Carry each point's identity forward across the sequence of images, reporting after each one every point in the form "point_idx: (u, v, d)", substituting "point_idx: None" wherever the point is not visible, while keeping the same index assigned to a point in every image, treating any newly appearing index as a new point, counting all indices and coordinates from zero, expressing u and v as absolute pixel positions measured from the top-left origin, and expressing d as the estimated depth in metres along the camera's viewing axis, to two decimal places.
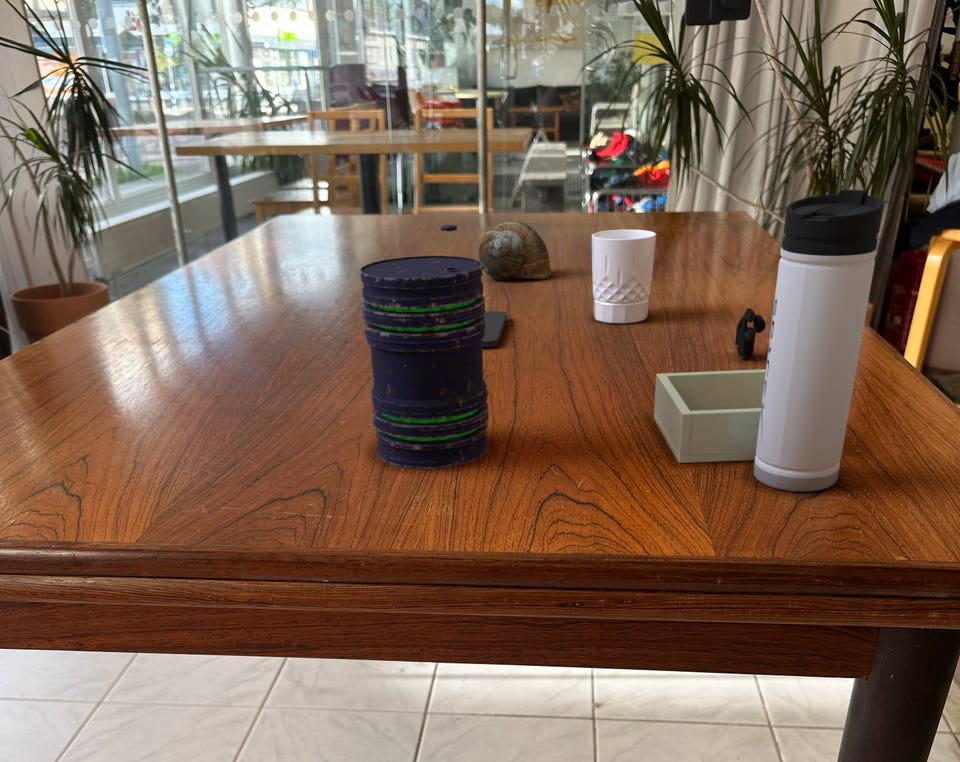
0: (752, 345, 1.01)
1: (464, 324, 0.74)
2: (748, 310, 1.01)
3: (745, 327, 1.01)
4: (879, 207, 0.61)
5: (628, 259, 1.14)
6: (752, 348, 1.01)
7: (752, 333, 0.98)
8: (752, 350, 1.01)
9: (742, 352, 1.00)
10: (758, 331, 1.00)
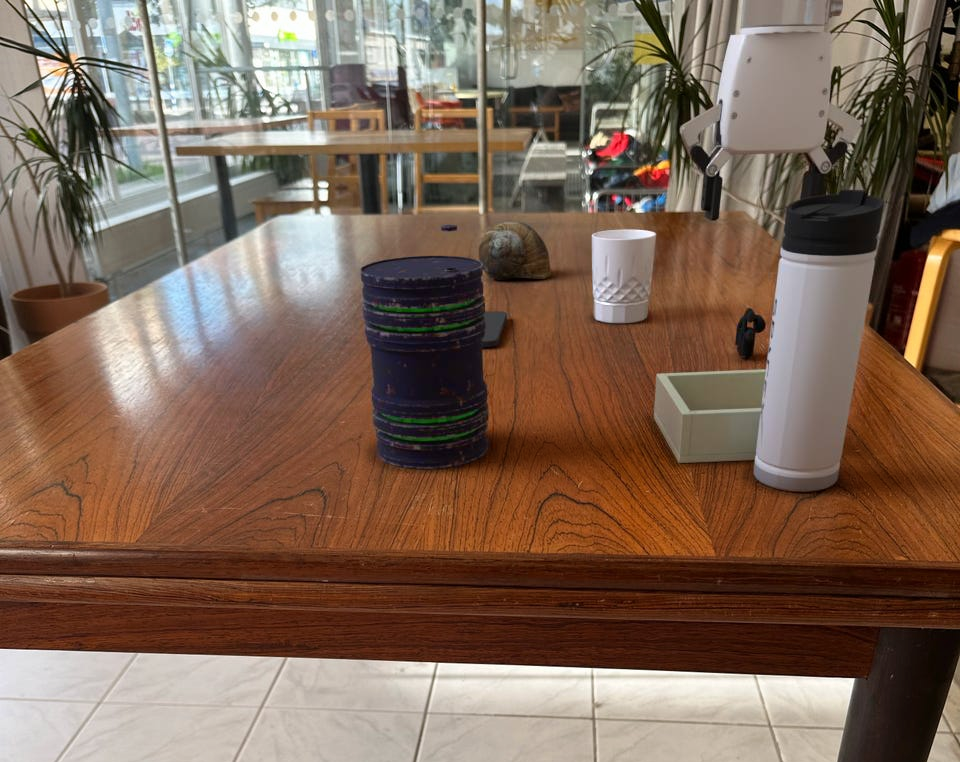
0: (752, 345, 1.01)
1: (464, 324, 0.74)
2: (748, 310, 1.01)
3: (745, 327, 1.01)
4: (879, 207, 0.61)
5: (628, 259, 1.14)
6: (752, 348, 1.01)
7: (752, 333, 0.98)
8: (752, 350, 1.01)
9: (742, 352, 1.00)
10: (758, 331, 1.00)
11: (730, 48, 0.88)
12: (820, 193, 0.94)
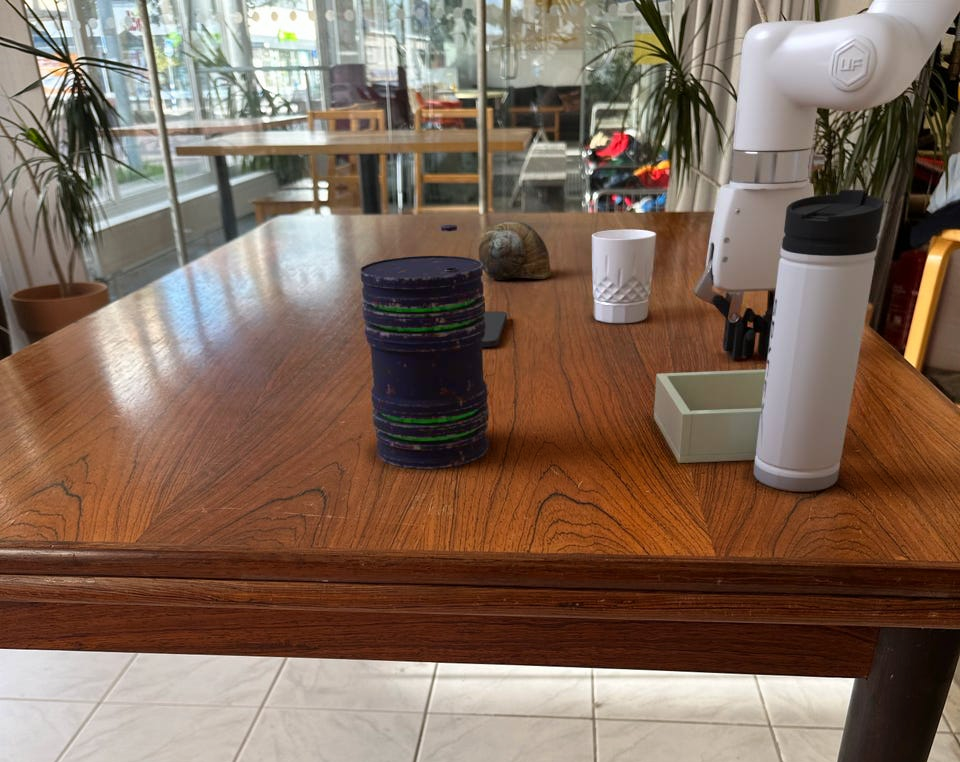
0: (753, 345, 1.01)
1: (464, 324, 0.74)
2: (748, 310, 1.01)
3: (745, 327, 1.01)
4: (879, 207, 0.61)
5: (628, 259, 1.14)
6: (753, 348, 1.01)
7: (753, 333, 0.98)
8: (753, 350, 1.01)
9: (743, 352, 1.00)
10: (758, 331, 1.00)
11: (720, 199, 0.95)
12: None
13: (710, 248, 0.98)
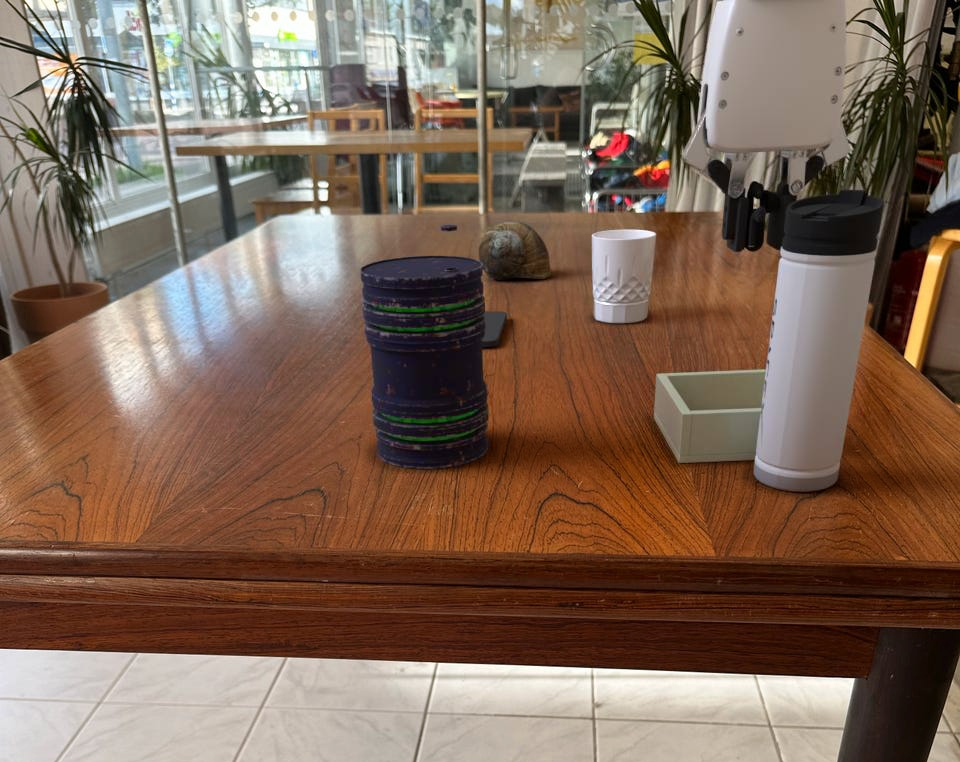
0: (762, 230, 0.75)
1: (464, 324, 0.74)
2: (753, 184, 0.75)
3: (751, 207, 0.75)
4: (879, 207, 0.61)
5: (628, 259, 1.14)
6: (762, 235, 0.75)
7: (763, 211, 0.73)
8: (762, 237, 0.75)
9: (750, 240, 0.74)
10: (769, 210, 0.74)
11: (716, 18, 0.69)
12: None
13: (703, 94, 0.72)
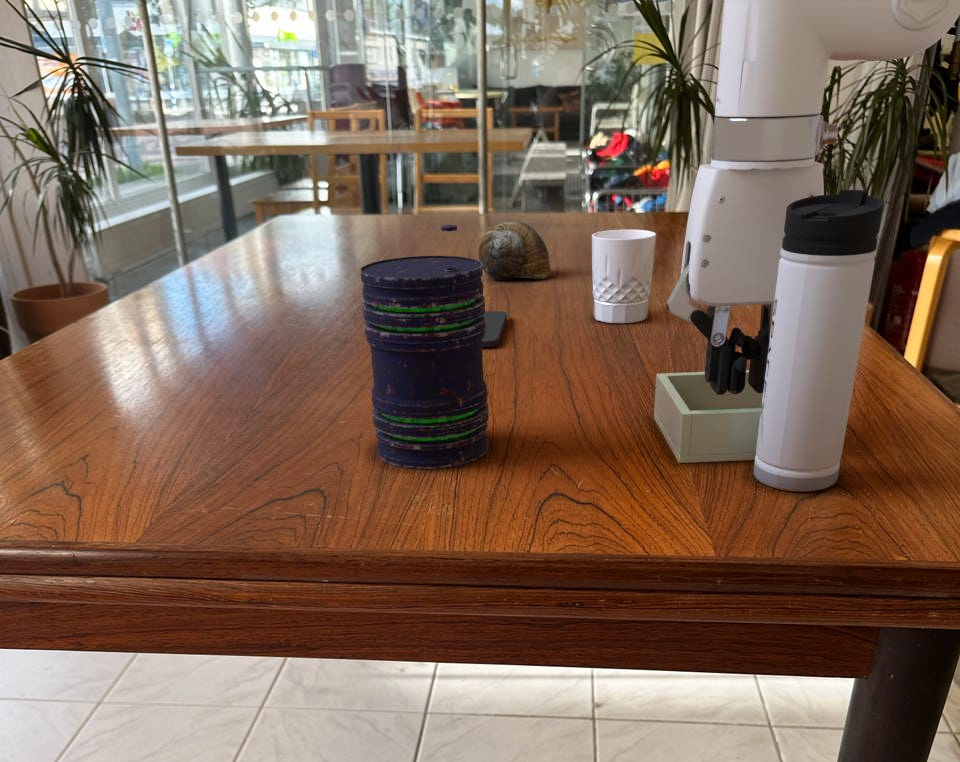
0: (743, 376, 0.77)
1: (464, 324, 0.74)
2: (735, 330, 0.77)
3: (733, 353, 0.77)
4: (879, 207, 0.61)
5: (628, 259, 1.14)
6: (744, 379, 0.78)
7: (745, 361, 0.75)
8: (744, 382, 0.78)
9: (732, 386, 0.77)
10: (751, 357, 0.77)
11: (699, 183, 0.71)
12: None
13: (686, 249, 0.74)
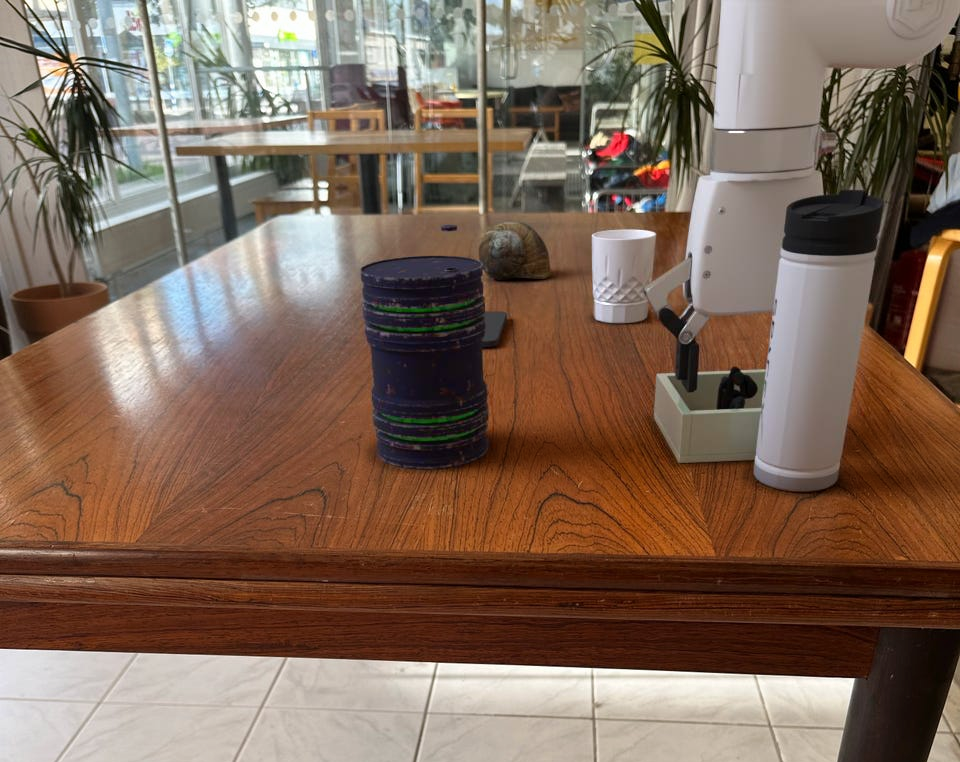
0: None
1: (464, 324, 0.74)
2: (734, 369, 0.79)
3: (731, 391, 0.79)
4: (879, 207, 0.61)
5: (628, 259, 1.14)
6: None
7: (743, 401, 0.77)
8: None
9: None
10: (748, 397, 0.78)
11: (699, 195, 0.72)
12: None
13: None
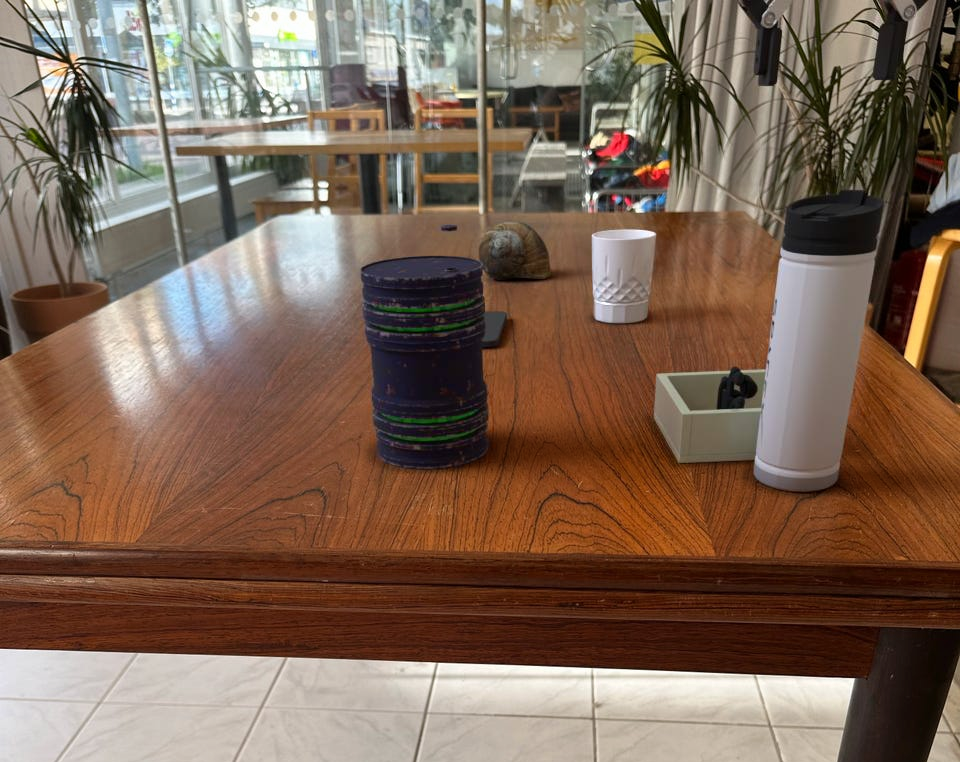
0: None
1: (464, 324, 0.74)
2: (734, 369, 0.79)
3: (731, 391, 0.79)
4: (879, 207, 0.61)
5: (628, 259, 1.14)
6: None
7: (743, 401, 0.77)
8: None
9: None
10: (748, 397, 0.78)
11: None
12: (902, 48, 0.76)
13: None
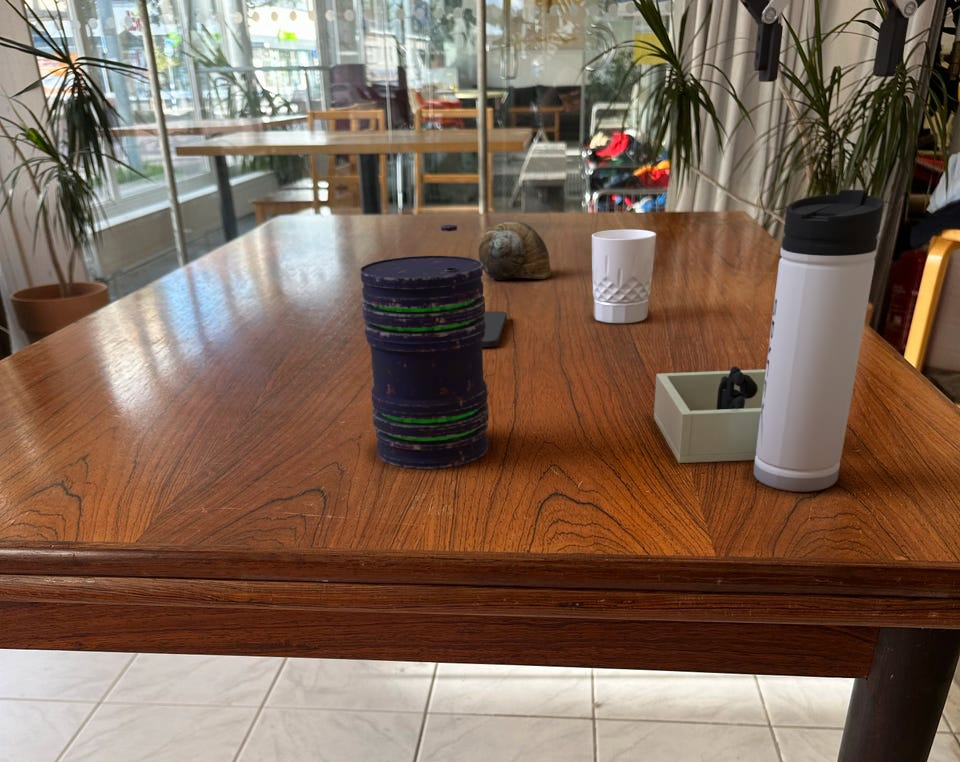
0: None
1: (464, 324, 0.74)
2: (734, 369, 0.79)
3: (731, 391, 0.79)
4: (879, 207, 0.61)
5: (628, 259, 1.14)
6: None
7: (743, 401, 0.77)
8: None
9: None
10: (748, 397, 0.78)
11: None
12: (902, 45, 0.76)
13: None
